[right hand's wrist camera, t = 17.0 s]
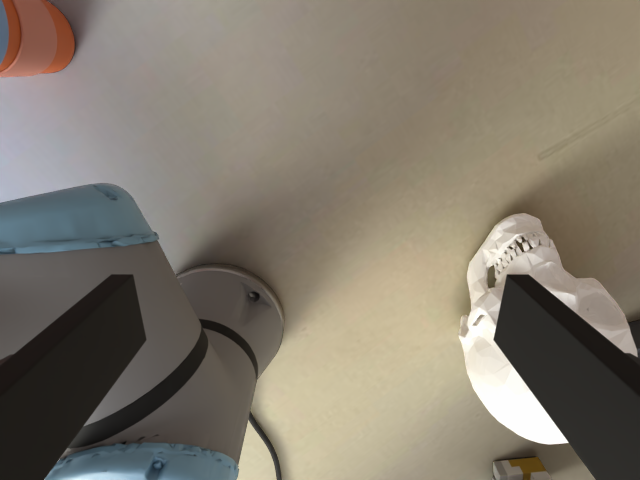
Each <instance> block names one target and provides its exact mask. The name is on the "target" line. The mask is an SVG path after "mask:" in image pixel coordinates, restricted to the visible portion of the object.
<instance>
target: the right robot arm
mask: <svg viewBox="0 0 640 480" xmlns="http://www.w3.org/2000/svg"><path fill="white" fill-rule="evenodd" d="M158 239H159V236H158V234H157V233H156V232H153V231H152V230H151V228H150V226H149V225H148V223H147V221H146V220H145V218H144V216H143V214H142V213H141V211H140V209H139V208H138V206H137V204H136V203H135V201H134V199H133V198H132V197H131V195H130V194H129V193H128V192H127V191H125V190H124V189H122V188H121V187H118V186H116V185H113V184H108V183H96V184H90V185H84V186H78V187H73V188H68V189H63V190H58V191H54V192H49V193H44V194H39V195H35V196H30V197H25V198H20V199H16V200H11V201H7V202H2V203H0V480H44V479H45V480H236V479H237V477H238V472H239V469H238V467H239V466H238V463H239V459H240V454H241V450H242V445H243V441H244V436H245V432H246V427H247V423H248V419H249V421H250V423H251V424H252V426H253V427H254V429H255V430H256V431H257V433H258V434H259V436H260V437H261V438H262V440H263V441H264V443H265V444H266V446H267V447H268V449H269V451H270V453H271V456H272V458H273V461H274V465H275V470H276V477H277V480H282V478H281V471H280V465H279V461H278V457H277V454H276V452H275V450H274V447H273V445H272V444H271V442H270V440H269V439H268V437H267V436H266V434H265V433H264V432H263V430H262V429H261V428H260V426H259V425H258V423H257V422H256V420H255V419H254V417H253V415H252V413H251V411H250V409H251V405H252V400H253V396H254V391H255V387H256V382H257V379H258V378H259V377H260V375H261V374H262V373H263V371H264V370H265V369H266V367H267V366H268V365H269V363H270V362H271V361H272V359H273V358H274V357H275V355H276V353H277V352H278V350H279V348H280V345H281V341H282V337H283V331H284V314H283V310H282V307H281V304H280V302H279V300H278V298H277V296H276V295H275V293H274V292H273V290H272V289H271V288H270V287H269V286H268V285H267V284H266V283H265V282H264V281H263V280H261V279H260V278H259V277H257V276H256V275H254V274H253V273H251V272H249V271H247V270H244V269H242V268H239V267H235V266H231V265H226V264H206V265H200V266H196V267H193V268H190V269H188V270H186V271H184V272H183V273H181V274H179V275H178V276H177V277H176V275H175V273H174V271H173V270H172V268H171V266H170V264H169V262H168V260H167V258H166V256H165V254H164V252H163V250H162V248H161V246H160V244H159V243H158V241H157V240H158ZM493 340H494V342H495V343H496V344H497V346H498V347H499V348H500V350H501V351H502V352H503V354H504V355H505V357H506V358H507V359H508V361H509V362H510V363H511V365H512V366H513V367H514V369H515V370H516V371H517V373H518V374H519V376H520V377H521V378H522V380H523V381H524V382H525V384H526V385H527V386H528V388H529V389H530V391H531V392H532V393H533V395H534V396H535V397H536V399H537V400H538V401H539V403H540V404H541V406H542V407H543V408H544V410H545V411H546V412H547V414H548V415H549V416H550V418H551V419H552V421H553V422H554V423H555V425H556V426H557V427H558V429H559V430H560V431H561V433H562V434H563V436H564V437H565V438H566V440H567V441H568V442H569V444H570V445H571V446H572V448H573V449H574V451H575V452H576V453H577V455H578V456H579V457H580V459H581V460H582V461H583V463H584V464H585V466H586V467H587V468H588V470H589V471H590V472H591V474H592V475H593V476H594V478H595V479H596V480H640V358H638V357H636V356H634V355H633V354H631V353H624V352H623V351H622V350H620V349H619V348H618V347H617V346H616V345H614V344H613V343H612V342H611V341H609V340H608V339H607V338H606V337H605V336H603V335H602V334H601V333H600V332H598V331H597V330H596V329H595V328H594V327H592V326H591V325H590V324H589V323H587V322H586V321H585V320H584V319H583V318H581V317H580V316H579V315H578V314H576V313H575V312H574V311H573V310H572V309H570V308H569V307H568V306H567V305H565V304H564V303H563V302H562V301H561V300H559V299H558V298H557V297H556V296H554V295H553V294H552V293H551V292H550V291H548V290H547V289H546V288H545V287H543V286H542V285H541V284H540V283H539V282H537V281H536V280H535V279H534V278H532V277H531V276H530V275H529V274H507V276H506V281H505V285H504V290H503V295H502V300H501V305H500V310H499V315H498V320H497V325H496V329H495V334H494V339H493ZM59 459H60V460H59ZM58 460H59V461H58ZM57 461H58V462H57Z"/></svg>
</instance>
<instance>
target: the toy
mask: <svg viewBox="0 0 640 480" xmlns="http://www.w3.org/2000/svg"><path fill="white" fill-rule="evenodd" d="M493 473H494V476H495V477H493V480H552V479H551V477H550V476H549V474H548V473H547V471H546V469H545V468H544V466H543V464H542V463H541V461H540V460H539V458H538V457H533V458H523V459H513V460H504V461H494V462H493Z"/></svg>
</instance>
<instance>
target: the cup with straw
mask: <svg viewBox="0 0 640 480" xmlns="http://www.w3.org/2000/svg"><path fill="white" fill-rule="evenodd" d="M74 49H75V42H74V35H73V32H72V29H71V27H70V24H69V23H68V21H67V19H66V18H65V16H64V15H63V14H62V13H61V12H60V11H59V10H58V9H57V8H56V7H55V6H54V5H52V4H51V3H49V2H48V1H46V0H0V77H18V76H32V75H36V74H39V73H53V72H58V71H60V70H62V69H64V68H65V67H66V66H67V65H68V64H69V63H70V61H71V59H72V57H73V54H74Z"/></svg>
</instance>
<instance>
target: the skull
mask: <svg viewBox="0 0 640 480" xmlns="http://www.w3.org/2000/svg"><path fill="white" fill-rule="evenodd" d="M522 237H524V238H525V240H526V241H527V240H528V239H529V241H528V242H529V243H530V245H531V246H532V248H533V249H531V250H529V245H528V242H523V243H522V245H523V248H524V252H523V253H522V251H521V250H520V248H519V247H518V245H517V244H516V241H518V242H519V243H521V242H522V239H521V238H522ZM510 246H511V247H512V248H513V249H512V250H511V249H510V248H509V247H510ZM514 249H515V250H516V253H517V254H518V256H517V255H516V253H515V250H514ZM511 256H512V258H513V260H512V261H511ZM501 258H502V260H501ZM497 262H498V265H497ZM493 265H494V267H495V278H496V279H497V280H496V282H495V287H494V288H488V270H489V267H491V266H493ZM507 274H529V275H530V276H531V277H532V278H534V279H535V280H536V281H537V282H539V283H540V284H541V285H542V286H543V287H545V288H546V289H547V290H548V291H550V292H551V293H552V294H553V295H554V296H556V297H557V298H558V299H559V300H561V301H562V302H563V303H564V304H565V305H567V306H568V307H569V308H570V309H572V310H573V311H574V312H575V313H576V314H578V315H579V316H580V317H581V318H583V319H584V320H585V321H586V322H587V323H589V324H590V325H591V326H592V327H594V328H595V329H596V330H597V331H598V332H600V333H601V334H602V335H603V336H605V337H606V338H607V339H608V340H609V341H611V342H612V343H613V344H614V345H616V346H617V347H618V348H619V349H620V350H622V351H623V352H624V353H631V354H633V355H634V356H636V357H638V355H637V349H636V346H635V343H634V340H633V337H632V335H631V332H630V327H629V325H628V323H627V320H626V317H625V314H624V313H623V312H622V310H621V309H620V307H619V306H618V304H617V303H616V301H615V300H614V299H613V298H612V297H611V295H610V294H609V293H608V292H607V291H606V289H605V288H604V287H603V286H602V284H601V283H600V282H599V281H597V280H596V279H594V278H575V277H574V276H572V275H571V274H570V273H568V272H567V271H565V270H564V268H563V267H562V263H561V260H560V256H559V254H558V252H557V249H556V247H555V245H554V243H553V240H552V239H549V237H548V235H547V234H546V233H545V232H544V230H543V227H542V224H541V221H540V220H539V219H538V218H536V217H533V216H531V215H528V214H526V213H521V214H513V215H511V216H509V217H506V218H504V219H503V220H501V221H500V222H499V223H498V224H496V225H495V226H494V228H493V229H492V231H491V232H490V234H489V235H488V237H487V238H486V240H485V241H484V243H483V244H482V246H481V247H480V248H479V250H478V251H477V253H476V254H475V256H474V257H473V258H472V260H471V261H470V263H469V267H468V271H467V281H468V286H469V291H470V299H471V312H470V314H469V316H468V315H466V314H465V315H462V316H461V320H460V325H461V326H460V329H459V331H458V335H459V338H460V340H461V342H462V346H463V351H464V356H465V364H466V368H467V373H468V376H469V379H470V381H471V384H472V386H473V389H474V390H475V392H476V393H477V395H478V396H479V398H480V399H481V401H482V402H483V404H484V405H485V407H486V408H487V409H488V411H489V412H490V413H491V414H492V415H493V416H494V417H495V418H496V419H497V420H498V421H499V422H500V423H502V424H503V425H505V426H506V427H507V428H509V429H510V430H512V431H513V432H515V433H516V434H518V435H519V436H522V437H524V438H526V439H528V440H531V441H534V442H538V443H542V444H562V443H569V442H568V441H567V440H566V438H565V437H564V436H563V434H562V433H561V431H560V430H559V429H558V427H557V426H556V425H555V423H554V422H553V421H552V419H551V418H550V416H549V415H548V414H547V412H546V411H545V410H544V408H543V407H542V406H541V404H540V403H539V401H538V400H537V399H536V397H535V396H534V395H533V393H532V392H531V391H530V389H529V388H528V386H527V385H526V384H525V382H524V381H523V380H522V378H521V377H520V376H519V374H518V373H517V371H516V370H515V369H514V367H513V366H512V365H511V363H510V362H509V361H508V359H507V358H506V357H505V355H504V354H503V352H502V351H501V350H500V348H499V347H498V346H497V344H496V343H495V342H494V340H493V339H494V334H495V329H496V325H497V320H498V315H499V310H500V305H501V300H502V295H503V290H504V285H505V281H506V276H507Z"/></svg>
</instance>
